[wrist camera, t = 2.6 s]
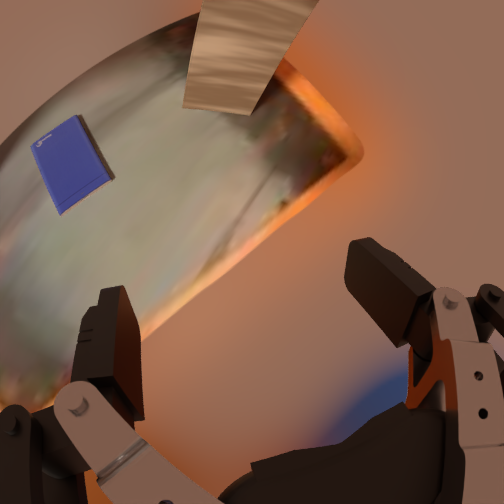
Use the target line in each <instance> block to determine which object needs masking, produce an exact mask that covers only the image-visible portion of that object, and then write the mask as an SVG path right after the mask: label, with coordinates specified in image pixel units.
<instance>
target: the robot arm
mask: <svg viewBox="0 0 504 504" xmlns="http://www.w3.org/2000/svg"><path fill="white" fill-rule="evenodd" d="M344 280H345V284H346V287H347V289H348V291H349V292H350V293H351V294H352V295H353V297H354V298H355V299H356V300H357V301H358V302H359V304H360V305H361V306H362V307H363V308H364V309H365V311H366V312H367V313H368V314H369V315H370V316H371V318H372V319H373V320H374V321H375V322H376V324H377V325H378V326H379V327H380V328H381V330H383V332H384V333H385V334H386V336H387V337H388V338H389V339H390V340H391V342H392V343H393V344H394V345H395V347H396V348H398V347H401V346H403V345H405V344H407V343H409V344H410V345H411V346H410V349H409V351H408V393H407V398H406V401H405V404H404V403H403V402H401V403H399V404H397V405H396V406H394V407H392V408H390V409H388V410H386V411H384V412H383V413H381V414H379V415H377V416H375V417H373V418H372V419H370V420H369V421H368V422H367V423H366V424H364V425H363V426H362V427H361V428H359V429H358V430H357V431H356V432H354V433H353V434H352V435H351V436H349V437H348V438H347V439H346V440H344V441H343V442H341V443H339V444H336V445H330V446H324V447H316V448H309V449H301V450H293V451H290V452H287V453H284V454H280V455H277V456H274V457H270V458H267V459H264V460H260V461H256V462H252V463H250V464H251V469H252V471H251V472H249V473H247V474H245V475H243V476H242V477H240V478H239V479H237V480H236V481H234V482H233V483H232V484H231V485H230V486H228V487H227V488H226V489H225V490H224V491H223V492H222V493H221V494H220V496H219V497H218V498H217V499H216V498H215V497H213V496H212V495H211V494H209V493H208V492H207V491H205V490H204V489H202V488H201V487H200V486H198V485H197V484H196V483H194V482H193V481H192V480H191V479H189V478H188V477H187V476H185V475H184V474H183V473H182V472H180V471H179V470H178V469H177V468H176V467H174V466H173V465H172V464H171V463H169V461H167V460H166V459H165V458H164V457H163V456H162V455H161V454H159V453H158V452H157V451H156V450H155V449H154V448H153V447H152V446H151V445H149V444H148V443H147V442H146V441H145V440H144V439H142V438H141V437H140V436H139V435H138V434H137V433H136V432H135V427H134V421H143V420H145V417H144V405H143V392H142V371H141V336H140V329H139V325H138V321H137V319H136V316H135V313H134V311H133V308H132V306H131V303H130V300H129V298H128V295H127V292H126V290H125V288H124V286H123V285H121V286H115V287H110V288H105V289H101V291H100V295H99V300H98V305H97V306H92V307H90V308H89V309H88V310H87V312H86V313H85V315H84V316H83V318H82V321H81V325H80V330H79V331H80V333H79V335H78V340H77V342H78V344H77V345H76V350H75V356H74V362H73V368H72V375H71V382H70V384H68V385H66V386H65V387H63V388H62V389H61V390H60V391H59V393H58V394H57V396H56V398H55V401H54V405H53V406H50V407H48V408H45V409H43V410H40V411H37V412H34V413H32V414H30V413H29V412H28V411H27V410H26V409H25V408H24V407H22V406H21V405H16V404H15V405H10V406H8V407H6V408H5V409H3V410H2V412H1V413H0V504H88V500H87V494H86V486H85V478H84V472H85V471H88V470H90V469H92V470H93V471H94V472H95V474H96V475H97V477H98V479H97V483H98V485H99V487H100V488H101V490H102V491H103V492H104V493H105V494H106V495H107V497H108V498H109V499H110V500H111V501H112V502H113V503H114V504H504V361H503V360H502V359H501V358H500V356H499V355H498V354H497V353H496V352H495V350H494V349H493V347H492V345H491V344H490V343H488V342H487V341H488V340H489V338H490V336H491V334H492V333H493V331H494V329H496V330H497V331H498V332H499V333H500V334H501V335H502V336H503V337H504V292H503V291H502V290H501V289H500V288H498V287H497V286H494V285H492V284H484V285H482V286H481V287H480V289H479V291H478V293H477V296H476V297H468V298H465V297H464V295H462V294H461V293H460V292H458V291H457V290H454V289H452V288H448V287H441V288H438V289H436V288H435V287H434V286H433V285H432V284H430V283H429V282H428V281H427V280H426V279H425V278H424V277H422V276H421V275H420V274H419V273H418V272H417V271H415V270H414V269H413V268H411V266H410V265H409V264H407V263H406V262H404V261H403V259H401V258H400V257H399V256H398V255H396V254H395V253H394V252H391V251H389V250H387V249H385V248H384V247H382V246H381V245H380V244H379V243H377V242H376V241H375V240H374V239H372V238H370V237H367V238H363V239H358V240H353V241H351V242H350V244H349V248H348V255H347V261H346V268H345V275H344Z"/></svg>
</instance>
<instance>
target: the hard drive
mask: <svg viewBox="0 0 504 504" xmlns="http://www.w3.org/2000/svg"><path fill="white" fill-rule="evenodd" d="M30 147H31V150H32V152H33V155H34V158H35V160H36V163H37V165H38V168H39V170H40V173H41V175H42V178H43V180H44V182H45V185H46V187H47V189H48V191H49V194H50V196H51V198H52V200H53V202H54V204H55V206H56V208H57V211H58V213H59V215H60V216H61V217H62V216H63V215H65V214H66V213H67V212H69V211H70V210H71V209H73V208H74V207H75V206H77V205H78V204H80V203H81V202H82V201H84V200H85V199H87V198H88V197H89V196H91V195H92V194H94V193H95V192H97V191H98V190H100V189H101V188H103V187H104V186H106V185H107V184H109V183H110V182H112V180H111V178H110V176H109V174H108V173H107V171H106V169H105V167H104V165H103V164H102V162H101V160H100V158H99V156H98V155H97V153H96V151H95V149H94V147H93V145H92V143H91V142H90V140H89V138H88V136H87V134H86V132H85V130H84V128H83V126H82V124H81V122H80V120H79V118H78V116H77V115H74V116H72V117H71V118H69V119H68V120H66V121H65V122H63V123H62V124H60V125H58V126H57V127H56V128H54V129H53V130H51V131H50V132H48V133H47V134H45V135H44V136H43V137H41V138H40V139H38V140H37V141H36V142H34V143H33V144H32V145H31V146H30Z"/></svg>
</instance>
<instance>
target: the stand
mask: <svg viewBox="0 0 504 504" xmlns="http://www.w3.org/2000/svg"><path fill="white" fill-rule="evenodd" d="M318 1H319V0H203V2H202V6H201V11H200V15H199V19H198V23H197V28H196V33H195V37H194V42H193V47H192V52H191V57H190V63H189V69H188V75H187V81H186V87H185V93H184V100H183V107H182V108H188V109H200V110H210V111H219V112H228V113H235V114H243V115H249V116H250V115H251V113H252V111H253V109H254V107H255V105H256V104H257V102H258V100H259V98H260V96H261V95H262V93H263V91H264V89H265V87H266V86H267V84H268V82H269V80H270V79H271V77H272V75H273V74H274V72H275V70H276V68H277V67H278V65H279V63H280V62H281V60H282V58H283V57H284V55H285V53H286V52H287V50H288V48H289V47H290V45H291V43H292V42H293V40H294V39H295V37H296V35H297V34H298V32H299V30H300V29H301V27H302V26H303V24H304V23H305V21H306V20H307V18H308V17H309V15H310V13H311V12H312V10H313V9H314V7H315V6H316V4H317V3H318Z"/></svg>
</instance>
